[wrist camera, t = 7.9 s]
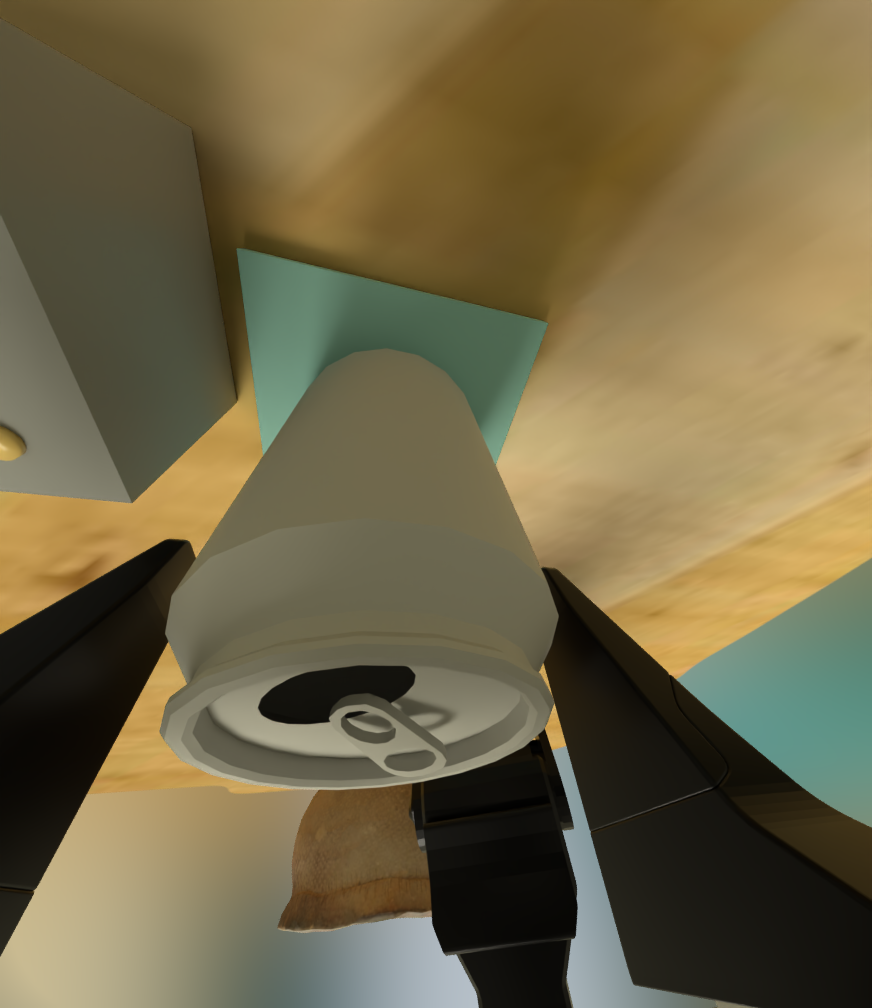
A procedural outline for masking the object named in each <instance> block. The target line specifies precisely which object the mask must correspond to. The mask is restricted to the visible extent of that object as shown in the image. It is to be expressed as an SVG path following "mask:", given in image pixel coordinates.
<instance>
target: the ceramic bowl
mask: <svg viewBox="0 0 872 1008" xmlns="http://www.w3.org/2000/svg"><path fill="white" fill-rule="evenodd" d="M411 789H412V783H409V784H401V785H394V786H387V787H378V788H362V789H345V790H318V792H317V793H316V794H315V796H314V797H313V799H312V801H311V803H310V805H309V806H308V808H307V810H306V812H305V814H304V816H303V818H302V820H301V823H300V827H299V830H298V833H297V837H296V840H295V845H294V852H293V859H292V882H293V890H292V897H291V900H290V901H289V903H288V904H287V906H286V908H285V910H284V911H283V913H282V915H281V919H280V921H279V924H278V929H280V930H281V931H293V932H300V933H308V932H319V931H320V932H321V931H334V930H337V929H341V928H344V927H348V926H351V925H357V924H364V923H372V922H378V921H383V920H388V919H394V918H405V917H406V918H407V917H408V918H423V917H432V910H431V893H430V880H429V872H428V863H427V854H426V853H422V852H421V850H420V848H419V845H418V841H417V836H416V831H415V825H414V823H413V822H412V821H411V819H410V818H409V802H410V796H411Z"/></svg>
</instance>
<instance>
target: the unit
mask: <svg viewBox="0 0 872 1008" xmlns="http://www.w3.org/2000/svg"><path fill="white" fill-rule="evenodd" d="M236 403H237V399H236V393H235V387H234V381H233V375H232V369H231V363H230V357H229V351H228V345H227V339H226V333H225V327H224V321H223V315H222V309H221V303H220V297H219V291H218V285H217V279H216V273H215V267H214V261H213V255H212V249H211V243H210V237H209V231H208V225H207V219H206V213H205V207H204V201H203V195H202V189H201V183H200V177H199V171H198V165H197V159H196V153H195V147H194V141H193V135H192V129H191V127H189V126H187V125H186V124H184V123H182V122H180V121H179V120H177V119H175V118H173V117H172V116H170V115H168V114H166V113H165V112H163V111H161V110H159V109H158V108H156V107H154V106H152V105H151V104H149V103H147V102H146V101H144V100H142V99H140V98H139V97H137V96H135V95H133V94H132V93H130V92H128V91H126V90H125V89H123V88H121V87H119V86H118V85H116V84H114V83H112V82H111V81H109V80H107V79H106V78H104V77H102V76H100V75H99V74H97V73H95V72H93V71H92V70H90V69H88V68H86V67H85V66H83V65H81V64H79V63H78V62H76V61H74V60H73V59H71V58H69V57H67V56H66V55H64V54H62V53H60V52H59V51H57V50H55V49H53V48H52V47H50V46H48V45H46V44H45V43H43V42H41V41H39V40H38V39H36V38H34V37H33V36H31V35H29V34H27V33H26V32H24V31H22V30H20V29H19V28H17V27H15V26H13V25H12V24H10V23H8V22H6V21H5V20H3V19H1V18H0V491H6V492H17V493H27V494H38V495H49V496H60V497H71V498H81V499H92V500H103V501H114V502H125V503H133V502H134V501H135V500H136V499H137V498H138V497H139V496H140V495H141V494H142V493H143V492H144V491H145V490H146V489H147V488H148V487H149V486H150V485H151V484H152V483H154V482H155V481H156V480H157V479H158V478H159V477H160V476H161V475H162V474H163V473H164V472H165V471H166V470H167V469H168V468H169V467H170V466H171V465H172V464H173V463H174V462H175V461H176V460H177V459H178V458H180V457H181V456H182V455H183V454H184V453H185V452H186V451H187V450H188V449H189V448H190V447H191V446H192V445H193V444H194V443H195V442H196V441H197V440H198V439H199V438H200V437H201V436H202V435H203V434H204V433H206V432H207V431H208V430H209V429H210V428H211V427H212V426H213V425H214V424H215V423H216V422H217V421H218V420H219V419H220V418H221V417H222V416H223V415H224V414H225V413H226V412H227V411H228V410H229V409H230V408H232V407H233V406H234V405H235V404H236Z"/></svg>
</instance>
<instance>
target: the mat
mask: <svg viewBox="0 0 872 1008" xmlns="http://www.w3.org/2000/svg"><path fill="white" fill-rule="evenodd" d="M236 249H237V257H238V264H239V272H240V280H241V288H242V295H243V303H244V311H245V319H246V326H247V334H248V342H249V349H250V357H251V365H252V373H253V380H254V388H255V396H256V403H257V411H258V419H259V427H260V434H261V442H262V450H263V456H264V454H265V452H266V451H267V449H268V448H269V446H270V445H271V443H272V442H273V440H274V439H275V437H276V436H277V434H278V433H279V431H280V430H281V428H282V426H283V425H284V423H285V422H286V420H287V419H288V417H289V416H290V414H291V413H292V411H293V410H294V408H295V407H296V405H297V404H298V402H299V400H300V399H301V397H302V396H303V394H304V393H305V391H306V390H307V388H308V387H309V386H310V385H311V384H312V383H313V381H314V380H315V379H316V378H317V377H318V376H319V375H320V374H321V372H322V371H323V370H324V369H325V368H326V367H327V366H329V365H331V364H332V363H334V362H336V361H338V360H340V359H342V358H344V357H346V356H348V355H350V354H352V353H354V352H360V351H369V350H377V349H385V348H388V349H392V350H397V351H401V352H406V353H411V354H415V355H419V356H421V357H422V358H424V359H426V360H427V361H429V362H431V363H432V364H434V365H436V366H437V367H439V368H441V369H442V370H444V371H445V372H446V373H447V374H448V375H449V376H450V377H451V379H452V380H453V381H454V382H455V383H456V385H457V386H458V387H459V388H460V389H461V391H462V392H463V393H464V395H465V397H466V399H467V401H468V404H469V406H470V408H471V411H472V413H473V415H474V417H475V420H476V422H477V424H478V426H479V429H480V431H481V433H482V435H483V438H484V440H485V442H486V445H487V447H488V449H489V451H490V454H491V456H492V458H493V460H494V463H495V465H496V463H497V460H498V457H499V455H500V452H501V449H502V447H503V444H504V441H505V439H506V436H507V433H508V431H509V428H510V425H511V422H512V420H513V417H514V414H515V412H516V409H517V406H518V404H519V401H520V398H521V396H522V393H523V390H524V388H525V385H526V382H527V380H528V377H529V374H530V372H531V369H532V366H533V363H534V361H535V358H536V355H537V353H538V350H539V347H540V345H541V342H542V339H543V337H544V334H545V331H546V329H547V326H548V323H547V322H545V321H542V320H538V319H534V318H530V317H526V316H522V315H517V314H513V313H509V312H505V311H501V310H497V309H493V308H488V307H484V306H480V305H476V304H472V303H468V302H464V301H460V300H455V299H451V298H447V297H443V296H439V295H435V294H431V293H426V292H422V291H418V290H414V289H410V288H406V287H402V286H398V285H393V284H389V283H385V282H381V281H377V280H373V279H369V278H364V277H360V276H356V275H352V274H348V273H344V272H340V271H336V270H331V269H327V268H323V267H319V266H315V265H311V264H307V263H302V262H298V261H294V260H290V259H286V258H282V257H278V256H273V255H269V254H265V253H261V252H257V251H253V250H249V249H245V248H236Z"/></svg>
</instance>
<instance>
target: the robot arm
mask: <svg viewBox="0 0 872 1008" xmlns="http://www.w3.org/2000/svg"><path fill="white" fill-rule="evenodd" d="M195 559H196V557H195V554H194V551H193V548H192V546H191V543H190V542H189V541H188V540H181V539H166V540H164V541H162V542H160V543H159V544H157V545H155V546H153V547H152V548H150V549H148V550H146V551H145V552H143V553H141V554H139V555H138V556H136V557H134V558H132V559H131V560H129V561H127V562H125V563H124V564H122V565H120V566H118V567H117V568H115V569H113V570H111V571H110V572H108V573H106V574H104V575H103V576H101V577H99V578H97V579H96V580H94V581H92V582H90V583H89V584H87V585H85V586H84V587H82V588H80V589H78V590H77V591H75V592H73V593H71V594H70V595H68V596H66V597H64V598H63V599H61V600H59V601H57V602H56V603H54V604H52V605H50V606H49V607H47V608H45V609H43V610H42V611H40V612H38V613H36V614H35V615H33V616H31V617H29V618H28V619H26V620H24V621H22V622H21V623H19V624H17V625H15V626H14V627H12V628H10V629H9V630H7V631H5V632H3V633H2V634H0V956H1V954H2V953H3V951H4V949H5V947H6V945H7V943H8V941H9V939H10V938H11V936H12V934H13V932H14V930H15V928H16V926H17V925H18V923H19V921H20V919H21V917H22V915H23V913H24V911H25V910H26V908H27V906H28V904H29V902H30V900H31V898H32V896H33V895H34V891H33V890H35V889H36V888H37V886H38V885H39V883H40V881H41V879H42V877H43V875H44V873H45V871H46V869H47V868H48V866H49V864H50V862H51V860H52V858H53V857H54V854H55V853H56V851H57V849H58V847H59V845H60V843H61V842H62V840H63V838H64V836H65V834H66V832H67V830H68V828H69V826H70V825H71V823H72V821H73V819H74V817H75V815H76V814H77V812H78V810H79V808H80V806H81V804H82V802H83V800H84V798H85V797H86V795H87V793H88V791H89V789H90V787H91V785H92V784H93V782H94V780H95V778H96V776H97V774H98V772H99V770H100V769H101V767H102V765H103V763H104V761H105V759H106V757H107V756H108V754H109V752H110V750H111V748H112V746H113V744H114V742H115V741H116V739H117V737H118V735H119V733H120V731H121V729H122V727H123V726H124V724H125V722H126V720H127V718H128V716H129V714H130V713H131V711H132V709H133V707H134V705H135V703H136V701H137V699H138V698H139V696H140V694H141V692H142V690H143V688H144V686H145V684H146V683H147V681H148V679H149V677H150V675H151V673H152V671H153V670H154V668H155V666H156V664H157V662H158V660H159V658H160V656H161V655H162V653H163V651H164V649H165V647H166V645H167V643H168V639H167V637H166V635H165V631H166V626H167V620H168V614H169V609H170V603H171V597H172V595H173V593H174V592H175V590H176V588H177V587H178V585H179V584H180V582H181V581H182V579H183V578H184V576H185V575H186V573H187V572H188V570H189V569H190V567H191V566H192V564H193V562H194V561H195ZM541 569H542V572H543V574H544V576H545V579H546V581H547V583H548V586H549V589H550V592H551V595H552V598H553V601H554V604H555V606H556V609H557V612H558V615H559V618H558V621H557V625H556V629H555V633H554V637H553V640H552V644H551V647H550V649H549V651H548V654H547V656H546V658H545V660H544V662H543V663H544V666H545V670H546V674H547V677H548V681H549V684H550V688H551V692H552V695H553V699H554V702H555V706H556V710H557V713H558V717H559V721H560V724H561V728H562V731H563V735H564V739H565V742H566V746H567V749H568V753H569V756H570V760H571V764H572V767H573V771H574V775H575V778H576V782H577V785H578V789H579V793H580V796H581V800H582V804H583V807H584V811H585V814H586V818H587V821H588V825H589V829H590V831H591V837H592V840H593V844H594V848H595V851H596V855H597V859H598V862H599V866H600V869H601V873H602V877H603V880H604V884H605V887H606V891H607V895H608V898H609V902H610V905H611V909H612V913H613V916H614V920H615V924H616V927H617V930H618V934H619V938H620V942H621V945H622V948H623V952H624V956H625V959H626V963H627V967H628V970H629V973H630V976H631V979H632V982H633V984H634V985H636V986H641V987H647V988H651V989H657V990H662V991H667V992H672V993H678V994H683V995H688V996H693V997H699V998H704V999H709V1000H714V1001H715V1002H716V1004H717V1007H714V1008H872V828H871V827H869V826H867V825H865V824H863V823H861V822H859V821H857V820H854V819H852V818H851V817H849V816H847V815H844V814H843V813H841V812H839V811H837V810H835V809H834V808H832V807H830V806H829V805H827V804H825V803H824V802H822V801H821V800H819V799H818V798H816V797H815V796H813V795H812V794H810V793H809V792H808V791H806V790H805V789H804V788H802V787H801V786H800V785H799V784H797V783H796V782H795V781H794V780H792V779H791V778H790V777H789V776H788V775H786V774H785V773H784V772H783V771H782V770H780V769H779V768H778V767H777V766H776V765H774V764H773V763H772V762H771V761H769V760H768V759H767V758H766V757H765V756H764V755H762V754H761V753H760V752H758V750H756V749H755V748H754V747H753V746H752V745H750V744H749V743H748V742H747V741H746V740H744V739H743V738H742V737H741V736H740V735H738V734H737V733H736V732H735V731H734V730H733V729H731V728H730V727H729V726H728V725H727V724H725V723H724V722H723V721H722V720H721V719H720V718H718V717H717V716H716V715H715V714H714V713H713V712H711V711H710V710H709V709H708V708H707V707H706V706H705V705H704V704H702V703H701V702H700V701H699V700H698V699H697V698H696V697H695V696H693V695H692V694H691V693H690V692H689V691H688V690H687V689H686V688H685V687H684V686H683V685H681V684H680V683H679V682H678V681H677V680H676V679H675V678H674V677H673V676H672V675H669V673H668V672H667V671H666V670H665V669H664V668H663V667H662V666H661V665H660V664H659V663H658V662H657V661H655V660H654V659H653V658H652V657H651V656H650V655H649V654H648V653H647V652H646V651H645V650H644V649H643V648H641V647H640V646H639V645H638V644H637V643H636V642H635V641H634V640H633V639H632V638H631V637H630V636H628V635H627V634H626V633H625V632H624V631H623V630H622V629H621V628H620V627H619V626H618V625H617V624H616V623H614V622H613V621H612V620H611V619H610V618H609V617H608V616H607V615H606V614H605V613H604V612H603V611H602V610H600V609H599V608H598V607H597V606H596V605H595V604H594V603H593V602H592V601H591V600H590V599H589V598H587V597H586V596H585V595H584V594H583V593H582V592H581V591H580V590H579V589H578V588H577V587H576V586H575V585H573V584H572V583H571V582H570V581H569V580H568V579H567V578H566V577H565V576H564V575H563V574H562V573H561V572H559V571H558V570H557V569H555V568H548V567H542V568H541ZM409 818H410V819H411V821H412V822H413V823H414V825H415V831H416V836H417V841H418V845H419V848H420V850H421V852H422V853H426V854H427V863H428V872H429V880H430V893H431V910H432V924H433V927H434V930H435V933H436V936H437V938H438V940H439V943H440V945H441V948H442V951H443V953H444V954H445V955H446V956H448V955H455V954H457V956H458V958H459V960H460V962H461V964H462V966H463V968H464V970H465V972H466V973H467V975H468V977H469V979H470V981H471V983H472V985H473V987H474V989H475V991H476V993H477V998H478V1005H479V1008H573V1004H572V1000H571V996H570V991H569V987H568V983H567V978H566V977H567V969H568V961H569V953H570V945H571V939H574V938H575V936H576V924H577V909H578V907H577V900H576V897H577V885H576V880H575V876H574V872H573V869H572V865H571V862H570V858H569V854H568V851H567V847H566V842H565V839H564V835H563V831H562V830H571V829H574V826H573V821H572V816H571V812H570V808H569V805H568V801H567V797H566V794H565V790H564V787H563V784H562V781H561V777H560V774H559V771H558V768H557V764H556V761H555V759H554V756H553V752H552V749H551V746H550V743H549V740H548V737H547V734H546V731H545V728H544V730H543V731H542V732H541V733H539V734H538V735H537V736H536V737H535V740H532V741H530V742H529V743H528V744H527V745H526V746H524V747H523V748H521V749H519V750H517V751H515V752H513V753H511V754H509V755H507V756H505V757H503V758H501V759H499V760H497V761H495V762H492V763H489V764H486V765H483V766H480V767H477V768H474V769H471V770H468V771H465V772H462V773H459V774H454V775H450V776H445V777H441V778H436V779H432V780H427V781H423V782H416V783H412V789H411V796H410V802H409Z"/></svg>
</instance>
